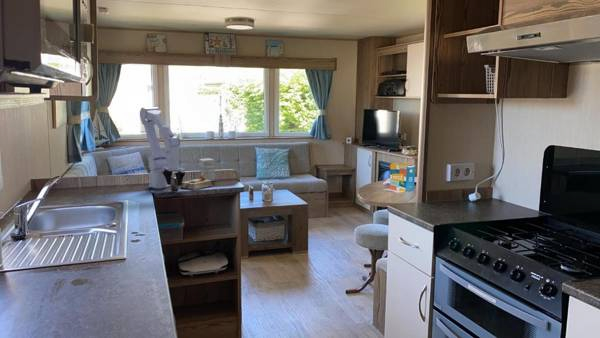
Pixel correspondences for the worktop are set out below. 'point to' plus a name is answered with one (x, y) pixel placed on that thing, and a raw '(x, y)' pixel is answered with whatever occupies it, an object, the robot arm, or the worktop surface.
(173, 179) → the steel peg
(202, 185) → the hitch block
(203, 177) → the latch flap
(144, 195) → the worktop surface
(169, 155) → the robot arm
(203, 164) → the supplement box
